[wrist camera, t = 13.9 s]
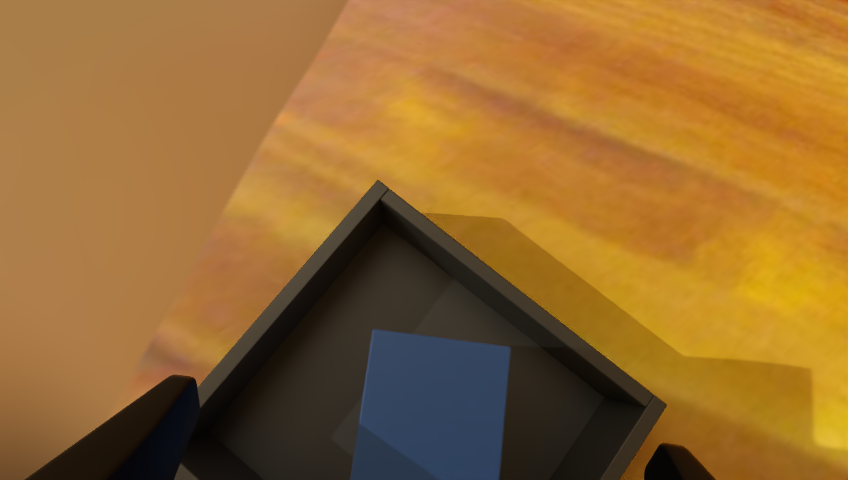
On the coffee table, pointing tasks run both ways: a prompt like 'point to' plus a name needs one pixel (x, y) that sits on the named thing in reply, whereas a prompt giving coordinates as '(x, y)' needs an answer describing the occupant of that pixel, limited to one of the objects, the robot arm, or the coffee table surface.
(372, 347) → the blue block
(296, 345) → the dark open-top box
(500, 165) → the coffee table surface
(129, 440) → the robot arm
